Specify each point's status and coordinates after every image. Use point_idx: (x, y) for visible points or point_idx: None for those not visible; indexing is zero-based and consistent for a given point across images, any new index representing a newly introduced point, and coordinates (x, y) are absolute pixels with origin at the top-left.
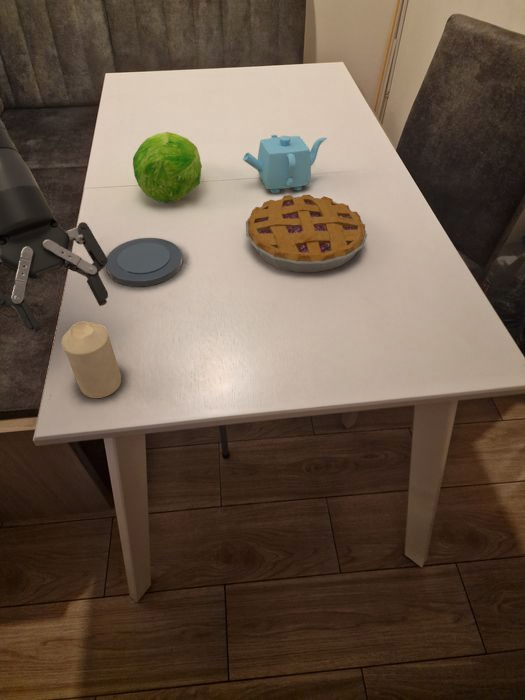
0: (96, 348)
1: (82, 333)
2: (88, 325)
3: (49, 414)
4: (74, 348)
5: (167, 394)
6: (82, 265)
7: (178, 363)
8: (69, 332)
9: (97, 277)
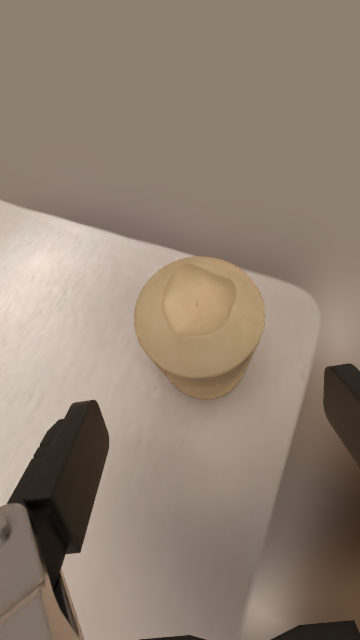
0: (182, 259)
1: (199, 310)
2: (172, 325)
3: (310, 331)
4: (235, 270)
5: (115, 284)
6: (11, 584)
7: (66, 338)
8: (234, 313)
9: (19, 498)
